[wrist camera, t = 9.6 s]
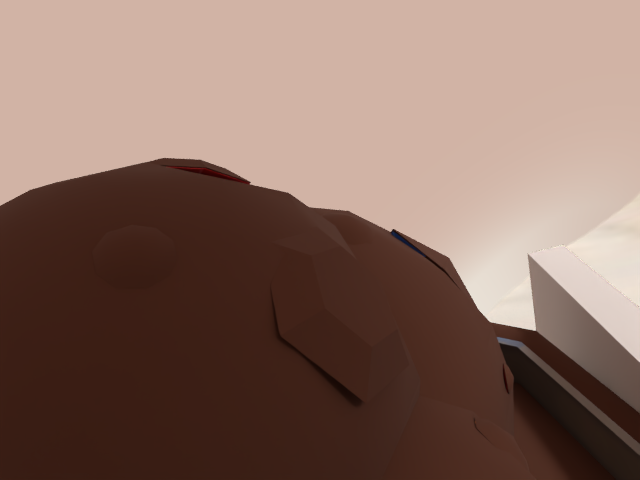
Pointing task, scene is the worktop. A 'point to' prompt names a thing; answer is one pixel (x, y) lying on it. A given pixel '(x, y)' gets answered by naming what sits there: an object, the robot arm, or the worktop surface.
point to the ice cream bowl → (268, 347)
